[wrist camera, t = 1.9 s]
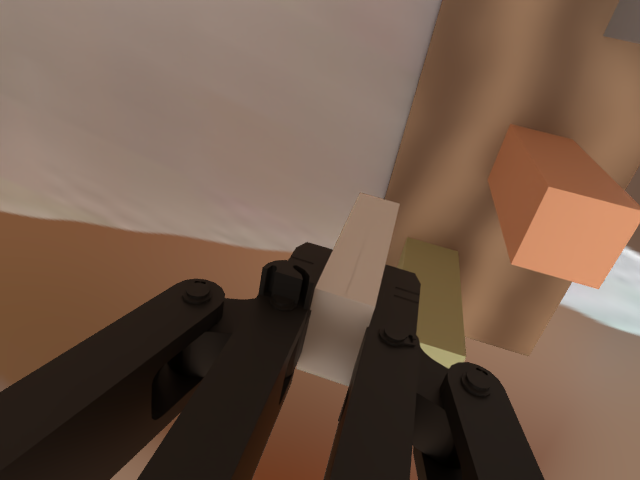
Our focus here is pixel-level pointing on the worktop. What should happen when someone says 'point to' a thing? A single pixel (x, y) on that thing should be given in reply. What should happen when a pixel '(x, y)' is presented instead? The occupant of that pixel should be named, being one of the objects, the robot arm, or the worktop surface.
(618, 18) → the slate pillar
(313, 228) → the worktop surface
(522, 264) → the terracotta pillar
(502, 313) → the walnut board
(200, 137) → the worktop surface
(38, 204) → the worktop surface
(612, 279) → the worktop surface
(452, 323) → the olive pillar
